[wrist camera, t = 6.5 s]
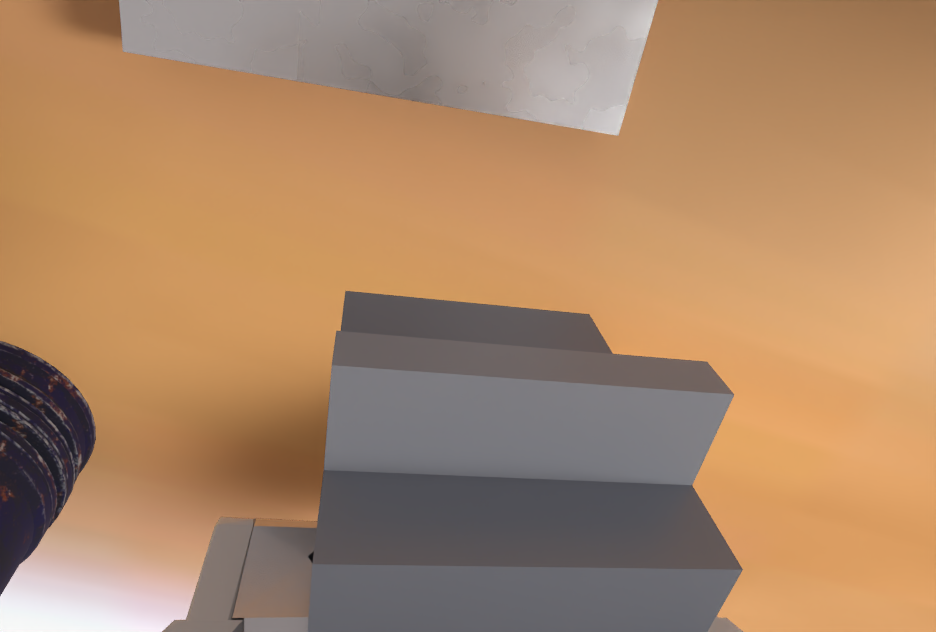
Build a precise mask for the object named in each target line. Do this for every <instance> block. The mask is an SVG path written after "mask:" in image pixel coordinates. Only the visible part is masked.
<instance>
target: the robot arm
mask: <svg viewBox="0 0 936 632" xmlns="http://www.w3.org/2000/svg"><path fill="white" fill-rule="evenodd" d="M317 522H318V521H302V520H282V519H263V518H256V519H254V518H231V517H220V519H219V520H218V522H217V524H216V525H215V527H214V531H213V534H212V537H211V540H210V544H209V547H208V550H207V553H206V557H205V560H204V563H203V566H202V570H201V573H200V576H199V579H198V583H197V586H196V589H195V592H194V596H193V599H192V602H191V605H190V609H189V612H188V615H187V618H186V620H174V621H173V622H172V623H171V624H170V625H169V626H168V627H167V628H166V629H165V630H164V631H162V632H308V619H309V605H310V591H311V577H312V563H313V555H314V547H315V539H316V530H317ZM708 632H743V631H742V630H741V629H739V628H738V627H737V626H736V625H735V624H733V623H732V622H731V621H730V620H729V619H727V618H719V617H717V616H716V618H715V619H714V621H713V623H712V625H711V626H710V628H709V630H708Z"/></svg>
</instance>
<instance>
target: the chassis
mask: <svg viewBox="0 0 936 632" xmlns="http://www.w3.org/2000/svg"><path fill="white" fill-rule="evenodd" d="M657 3H658V0H119V7H120V20H121V33H122V46H123V52H128V53H134V54H140V55H146V56H152V57H158V58H164V59H170V60H175V61H181V62H187V63H193V64H199V65H205V66H211V67H217V68H223V69H229V70H234V71H240V72H246V73H252V74H258V75H264V76H270V77H276V78H282V79H287V80H293V81H299V82H305V83H311V84H317V85H323V86H329V87H335V88H340V89H346V90H352V91H358V92H364V93H370V94H376V95H382V96H388V97H393V98H399V99H405V100H411V101H417V102H423V103H429V104H435V105H441V106H447V107H452V108H458V109H464V110H470V111H476V112H482V113H488V114H494V115H500V116H505V117H511V118H517V119H523V120H529V121H535V122H541V123H547V124H553V125H558V126H564V127H570V128H576V129H582V130H588V131H594V132H600V133H606V134H611V135H617V136H618V135H619V131H620V128H621V125H622V121H623V118H624V114H625V111H626V108H627V104H628V101H629V97H630V94H631V91H632V87H633V84H634V81H635V77H636V74H637V70H638V67H639V64H640V60H641V57H642V53H643V50H644V47H645V43H646V40H647V36H648V33H649V30H650V26H651V23H652V19H653V16H654V13H655V9H656V6H657Z"/></svg>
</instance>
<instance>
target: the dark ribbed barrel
mask: <svg viewBox="0 0 936 632" xmlns="http://www.w3.org/2000/svg"><path fill="white" fill-rule="evenodd" d="M95 440H96V434H95V423H94V419H93V415H92V413H91V410H90V408H89V406H88V404H87V402H86V400H85V399H84V397H83V396H82V394H81V393H80V391H79V390H78V389H77V388H76V387H75V386H74V385H73V384H72V382H71V381H70V380H69V379H68V378H67V377H66V376H64V375H63V374H62V373H61V372H60V371H58V370H57V369H56V368H55V367H53V366H52V365H50V364H49V363H47V362H46V361H44V360H42V359H41V358H39V357H37V356H35V355H33V354H31V353H29V352H27V351H25V350H23V349H21V348H19V347H16V346H13V345H11V344H8V343H5V342H2V341H0V595H1V594H2V592H3V591H4V589H5V587H6V586H7V584H8V582H9V581H10V579H11V577H12V576H13V574H14V572H15V571H16V569H17V567H18V566H19V564H21V563H22V562H23V561H24V560H25V559H27V558H28V557H29V556H30V555H31V553H32V552H33V551H34V550H35V548H36V547H37V546H38V544H39V542H40V541H41V539H42V537H43V536H44V534H45V532H46V531H47V529H48V528H49V527H50V526H51V525H52V523H53V522H54V521H55V520H56V518H57V517H58V515H59V514H60V512H61V510H62V509H63V507H64V505H65V503H66V502H67V500H68V498H69V496H70V494H71V492H72V490H73V485H74V483H75V481H76V479H77V477H78V475H79V473H80V472H81V471H82V469H83V468H84V467H85V465H86V463H87V462H88V460H89V458H90V456H91V454H92V451H93V448H94V444H95Z"/></svg>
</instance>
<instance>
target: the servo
mask: <svg viewBox="0 0 936 632" xmlns="http://www.w3.org/2000/svg"><path fill="white" fill-rule="evenodd" d="M733 396H734V394H733V393H732V391H731V390H730V389H729V388H728V387H727V385H726V384H725V383H724V382H723V381H722V379H721V378H720V377H719V376H718V375H717V373H716V372H715V371H714V370H713V368H712V367H711V366H710V365H709V364H708V362H703V361H691V360H679V359H667V358H655V357H643V356H631V355H620V354H613V353H612V351H611V350H610V348H609V347H608V345H607V343H606V342H605V340H604V338H603V337H602V335H601V333H600V332H599V330H598V328H597V327H596V325H595V323H594V322H593V320H592V318H591V317H590V315H589V314H580V313H570V312H560V311H549V310H539V309H528V308H518V307H508V306H497V305H487V304H476V303H466V302H456V301H445V300H435V299H424V298H414V297H403V296H393V295H383V294H372V293H362V292H351V291H346V292H345V300H344V308H343V316H342V325H341V331H336V338H335V345H334V353H333V360H332V370H331V383H330V396H329V409H328V422H327V435H326V448H325V461H324V473H323V481H322V489H321V498H320V506H319V514H318V522H317V530H316V539H315V547H314V555H313V563H312V577H311V591H310V605H309V619H308V632H708V630H709V628H710V626H711V625H712V623H713V621H714V619H715V618H716V616H717V614H718V612H719V611H720V609H721V607H722V605H723V604H724V602H725V600H726V598H727V597H728V595H729V593H730V591H731V590H732V588H733V586H734V584H735V583H736V581H737V579H738V577H739V575H740V574H741V572H742V570H743V569H742V568H741V566H740V564H739V563H738V561H737V559H736V558H735V556H734V554H733V553H732V551H731V549H730V548H729V546H728V544H727V543H726V541H725V539H724V538H723V536H722V534H721V533H720V531H719V529H718V528H717V526H716V524H715V523H714V521H713V519H712V518H711V516H710V514H709V513H708V511H707V509H706V508H705V506H704V504H703V503H702V501H701V499H700V498H699V496H698V494H697V493H696V491H695V489H694V488H693V486H692V484H693V482H694V480H695V478H696V476H697V474H698V471H699V469H700V467H701V465H702V463H703V461H704V459H705V456H706V454H707V452H708V450H709V448H710V446H711V444H712V441H713V439H714V437H715V435H716V433H717V431H718V428H719V426H720V424H721V422H722V420H723V418H724V416H725V413H726V411H727V409H728V407H729V405H730V403H731V401H732V398H733Z"/></svg>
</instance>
